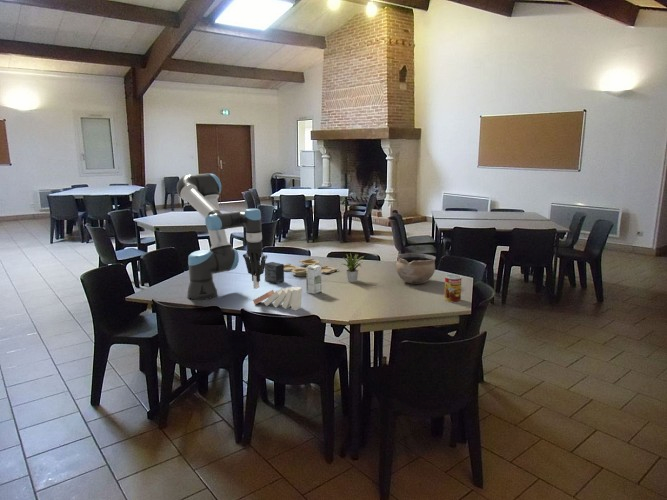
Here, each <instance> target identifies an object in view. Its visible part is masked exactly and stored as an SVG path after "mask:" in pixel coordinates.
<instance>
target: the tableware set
mask: <svg viewBox="0 0 667 500" xmlns="http://www.w3.org/2000/svg"><path fill="white" fill-rule="evenodd" d="M298 262H299V263H301V264H302V265H305V267H302V266H301V267H300V266H298V265H293V264H292V263H286V264H284V272H292V273H293V274H294V275H295V276H297V277H304V276H305V277H306V266H310V265H313V264H315V265H320V261H319V260H316V259H315V258H314V257H311V258H306V259H301V260H298ZM320 266H321V274H331V273H334V272H336V271H337V270H339V267H331V266H329V265H320Z"/></svg>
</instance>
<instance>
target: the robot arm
mask: <svg viewBox="0 0 667 500" xmlns="http://www.w3.org/2000/svg"><path fill="white" fill-rule="evenodd" d="M176 192H177V194H178V196H179V197H180V199H182V201H185V202H188V204H190V205H191V207H192V208H193V209H194V210H196V211H197V212H198V213H199V214H200V216H202V218H203V219H205V221H204V222H205V223H204V224H205V226H206V228H207V231H208V236H209V240H210V244H211V246H210V248H209V249H199V250H195V251H193V252H191V253H190V254H188V257H187V258H188V260H187V266H188V274H189V284H188V287H187V289H188V290H187V292H186V293H187V298H188V299H190V298H191V299H190V300H207V299H206V298H208V299H211V298H210V297H212V298H214V297H213V296H215V297H216V296H217V295H218V289H217V288H216V285H215V282H214V277H213V276H214V274H219V273H225V272H229V271H233V270H236V268H237V267H238V265H239V261H240V256H239V252H238V250H237V249H236V248H234V247H233V246H232V244H231V243H229V241H228V238H227V234H226V229H227V230H228V229H235V228H241V227H242V228H245V239H246V250H247V251H246V253H243V254H242V257H243V259H244V262H245V265H246V270H247V273H248V274H250V275H251V280H252V283H253V289H255V290H256V289H258V288H260V282H261V275H263V274H265V263H266V261H267V258H268V255H265V254H264V252H263V241H262V240H263V234H262V233H263V232H262V231H263V230H262V215H261V213H262V212H261V210H260V209H259V208H246V209H245V210H244V211H243V210H235V211H232V212H224V213H222V212H221V209H220V205H219V202H218V200H219V197H220V194H221V192H222V183H221V180H220V178H219V177H218V176H217V175H216V174H215V173H206V172H205V173H197V174H196V173H195V174H186V175H184V176H182V177H181V178H180V179H179V180H178V182H177V185H176Z"/></svg>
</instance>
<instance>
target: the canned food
mask: <svg viewBox="0 0 667 500" xmlns="http://www.w3.org/2000/svg"><path fill="white" fill-rule="evenodd" d="M462 280H463V279H462V276H461V275H457V274H447V275H445V276H444V299H445V300H446V302H447V301H448V303H452V302H456V303H460V302H461V299H462ZM445 300H444V301H445ZM459 301H460V302H459Z"/></svg>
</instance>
